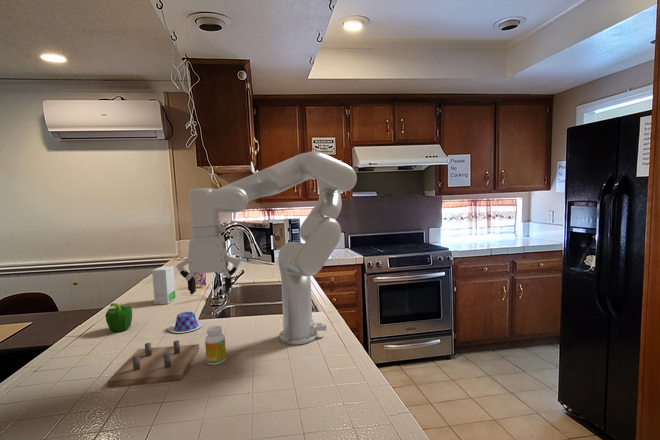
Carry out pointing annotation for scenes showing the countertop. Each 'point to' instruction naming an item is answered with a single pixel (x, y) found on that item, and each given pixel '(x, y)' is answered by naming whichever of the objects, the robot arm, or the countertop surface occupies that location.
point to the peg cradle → (155, 365)
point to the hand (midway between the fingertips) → (210, 291)
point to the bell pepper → (119, 317)
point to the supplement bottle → (215, 346)
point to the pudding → (185, 323)
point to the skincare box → (164, 285)
